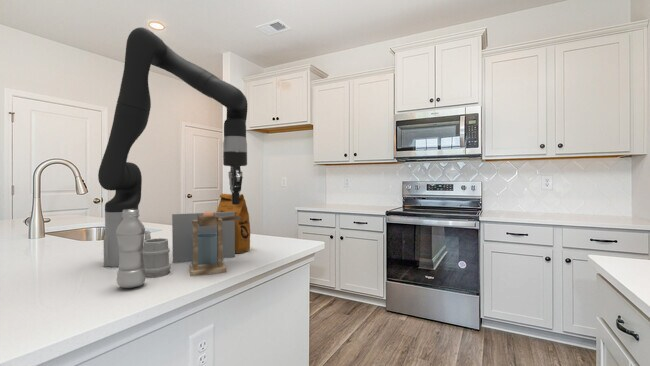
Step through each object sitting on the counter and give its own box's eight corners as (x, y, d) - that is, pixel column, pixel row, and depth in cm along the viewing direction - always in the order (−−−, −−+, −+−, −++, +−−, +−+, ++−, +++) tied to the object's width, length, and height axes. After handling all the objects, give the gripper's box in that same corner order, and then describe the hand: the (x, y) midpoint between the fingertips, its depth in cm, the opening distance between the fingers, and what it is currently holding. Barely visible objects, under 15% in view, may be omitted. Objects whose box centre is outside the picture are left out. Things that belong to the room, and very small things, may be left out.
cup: (191, 268, 100) (191, 238, 100) (191, 261, 108) (191, 234, 108) (220, 265, 103) (220, 236, 103) (218, 258, 111) (218, 232, 111)
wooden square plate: (199, 226, 90) (199, 217, 90) (197, 220, 102) (197, 212, 102) (246, 223, 95) (246, 215, 95) (239, 218, 107) (239, 210, 107)
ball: (203, 222, 91) (203, 211, 91) (202, 220, 94) (202, 210, 94) (214, 221, 93) (214, 211, 93) (213, 220, 95) (213, 210, 95)
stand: (190, 276, 92) (189, 222, 91) (189, 269, 98) (189, 219, 98) (226, 272, 96) (226, 220, 95) (223, 266, 102) (223, 217, 102)
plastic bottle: (125, 293, 78) (124, 211, 78) (111, 288, 82) (110, 209, 82) (151, 285, 84) (150, 209, 83) (137, 281, 87) (136, 207, 87)
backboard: (172, 262, 106) (172, 214, 106) (172, 261, 107) (172, 214, 107) (234, 256, 114) (234, 211, 114) (234, 256, 115) (234, 211, 115)
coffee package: (236, 255, 116) (236, 194, 116) (212, 251, 122) (211, 193, 122) (254, 250, 125) (254, 193, 124) (231, 246, 131) (231, 192, 130)
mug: (148, 279, 89) (147, 236, 89) (131, 271, 96) (130, 231, 96) (175, 273, 95) (175, 232, 94) (157, 266, 102) (157, 228, 102)
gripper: (220, 152, 109) (221, 203, 109) (225, 149, 97) (226, 206, 97) (243, 153, 112) (243, 202, 112) (250, 150, 100) (251, 205, 100)
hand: (235, 204), depth 105 cm, fingers closed
